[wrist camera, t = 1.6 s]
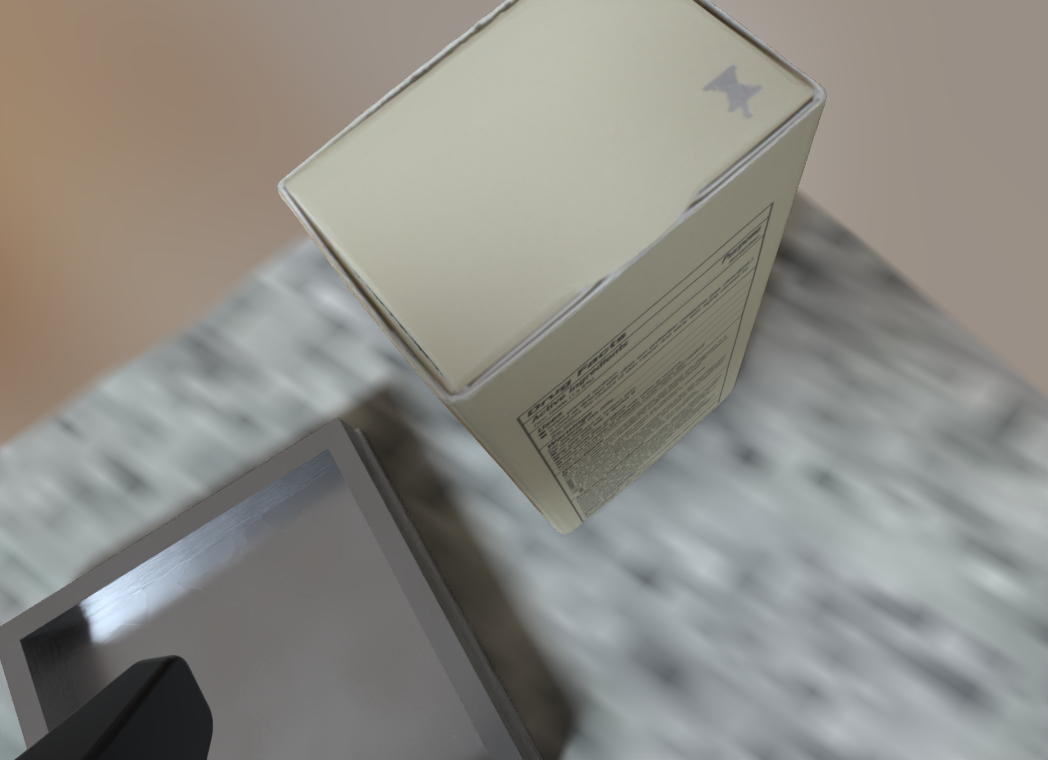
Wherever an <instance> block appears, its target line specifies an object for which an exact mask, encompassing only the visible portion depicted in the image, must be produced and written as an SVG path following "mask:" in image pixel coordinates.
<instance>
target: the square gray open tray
mask: <svg viewBox="0 0 1048 760" xmlns="http://www.w3.org/2000/svg"><path fill="white" fill-rule="evenodd" d="M167 655H177V656H180V657H182V658H183V659H184V660H186V662H187V663H188V665H189V667H190V669H191V671H192V673H193V675H194V677H195V679H196V681H197V683H198V685H199V687H200V689H201V691H202V693H203V695H204V697H205V699H206V701H207V703H208V705H209V707H210V710H211V713H212V717H213V734H212V740H211V744H210V748H209V753H208V757H207V760H543V759H542V757H541V755H540V753H539V751H538V749H537V748H536V746H535V744H534V742H533V740H532V739H531V737H530V735H529V733H528V731H527V729H526V728H525V726H524V724H523V722H522V720H521V718H520V717H519V715H518V713H517V711H516V709H515V708H514V706H513V704H512V702H511V700H510V698H509V697H508V695H507V693H506V691H505V689H504V688H503V686H502V684H501V682H500V680H499V678H498V677H497V675H496V673H495V671H494V669H493V667H492V666H491V664H490V662H489V660H488V658H487V657H486V655H485V653H484V651H483V649H482V647H481V646H480V644H479V642H478V640H477V638H476V637H475V635H474V633H473V631H472V629H471V627H470V626H469V624H468V622H467V620H466V618H465V616H464V615H463V613H462V611H461V609H460V607H459V606H458V604H457V602H456V600H455V598H454V596H453V595H452V593H451V591H450V589H449V587H448V586H447V584H446V582H445V580H444V578H443V576H442V575H441V573H440V571H439V569H438V567H437V565H436V564H435V562H434V560H433V558H432V556H431V555H430V553H429V551H428V549H427V547H426V545H425V544H424V542H423V540H422V538H421V536H420V535H419V533H418V531H417V529H416V527H415V525H414V524H413V522H412V520H411V518H410V516H409V514H408V513H407V511H406V509H405V507H404V505H403V504H402V502H401V500H400V498H399V496H398V494H397V493H396V491H395V489H394V487H393V485H392V484H391V482H390V480H389V478H388V476H387V474H386V473H385V471H384V469H383V467H382V465H381V463H380V462H379V460H378V458H377V456H376V454H375V453H374V451H373V449H372V447H371V445H370V443H369V442H368V440H367V438H366V436H365V434H364V433H363V431H362V430H361V429H360V428H358V427H357V428H356V429H354V430H353V429H352V428H351V427H350V426H348V425H347V424H346V423H345V422H343V421H342V420H341V419H340V418H336V419H335V420H333V421H332V422H330V423H328V424H327V425H325V426H324V427H322V428H320V429H319V430H317V431H315V432H314V433H312V434H311V435H309V436H307V437H306V438H304V439H303V440H301V441H299V442H298V443H296V444H294V445H293V446H291V447H290V448H288V449H286V450H285V451H283V452H282V453H280V454H278V455H277V456H275V457H273V458H272V459H270V460H269V461H267V462H265V463H264V464H262V465H261V466H259V467H257V468H256V469H254V470H252V471H251V472H249V473H248V474H246V475H244V476H243V477H241V478H240V479H238V480H236V481H235V482H233V483H231V484H230V485H228V486H227V487H225V488H223V489H222V490H220V491H219V492H217V493H215V494H214V495H212V496H210V497H209V498H207V499H206V500H204V501H202V502H201V503H199V504H198V505H196V506H194V507H193V508H191V509H189V510H188V511H186V512H185V513H183V514H181V515H180V516H178V517H177V518H175V519H173V520H172V521H170V522H168V523H167V524H165V525H164V526H162V527H160V528H159V529H157V530H156V531H154V532H152V533H151V534H149V535H147V536H146V537H144V538H143V539H141V540H139V541H138V542H136V543H135V544H133V545H131V546H130V547H128V548H126V549H125V550H123V551H122V552H120V553H118V554H117V555H115V556H114V557H112V558H110V559H109V560H107V561H105V562H104V563H102V564H101V565H99V566H97V567H96V568H94V569H93V570H91V571H89V572H88V573H86V574H84V575H83V576H81V577H80V578H78V579H76V580H75V581H73V582H72V583H70V584H68V585H67V586H65V587H63V588H62V589H60V590H59V591H57V592H55V593H54V594H52V595H51V596H49V597H47V598H46V599H44V600H42V601H41V602H39V603H38V604H36V605H34V606H33V607H31V608H30V609H28V610H26V611H25V612H23V613H21V614H20V615H18V616H17V617H15V618H13V619H12V620H10V621H9V622H7V623H5V624H4V625H2V626H0V660H1V663H2V666H3V670H4V673H5V676H6V680H7V683H8V686H9V690H10V693H11V696H12V700H13V703H14V706H15V710H16V713H17V716H18V720H19V723H20V726H21V730H22V733H23V736H24V740H25V743H26V746H27V749H29V748H30V747H31V746H32V745H34V744H35V743H36V742H37V741H39V740H40V739H41V738H42V737H43V736H45V735H46V734H47V733H48V732H50V731H51V730H52V729H53V728H55V727H56V726H57V725H58V724H60V723H61V722H62V721H63V720H65V719H66V718H67V717H68V716H70V715H71V714H72V713H73V712H74V711H76V710H77V709H78V708H79V707H81V706H82V705H83V704H84V703H86V702H87V701H88V700H89V699H91V698H92V697H93V696H94V695H96V694H97V693H98V692H99V691H101V690H102V689H103V688H104V687H106V686H107V685H108V684H109V683H110V682H112V681H113V680H114V679H115V678H117V677H118V676H119V675H120V674H122V673H123V672H124V671H125V670H127V669H128V668H129V667H130V666H132V665H133V664H134V663H136V662H138V661H140V660H143V659H147V658H154V657H160V656H167Z"/></svg>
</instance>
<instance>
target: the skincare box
mask: <svg viewBox="0 0 1048 760" xmlns="http://www.w3.org/2000/svg"><path fill="white" fill-rule="evenodd" d="M825 101H826V91H825V89H824V88H823V87H822V86H821V85H819V84H818V83H817V82H816V81H814V80H813V79H812V78H811V77H809V76H808V75H807V74H805V73H804V72H802V71H801V70H799V69H798V68H796V67H795V66H793V65H792V64H791V63H789V62H788V61H787V60H786V59H785V58H783V57H782V56H781V55H780V54H779V53H778V52H776V51H775V50H774V49H773V48H772V47H770V46H769V45H767V44H766V43H764V42H763V41H762V40H760V39H759V38H758V37H756V36H755V35H754V34H753V33H752V32H750V31H749V30H748V29H747V28H745V27H744V26H743V25H742V24H740V23H739V22H737V21H736V20H735V19H733V18H732V17H731V16H729V15H728V14H726V13H725V12H724V11H722V10H721V9H720V8H718V7H717V6H716V5H715V4H713V3H712V2H711V1H709V0H506V1H504V2H502V3H501V4H500V5H499V6H498V7H496V8H495V9H494V10H493V11H492V12H490V13H489V14H488V15H486V16H485V17H484V18H482V19H481V20H479V21H478V22H477V23H475V24H474V25H473V26H472V27H471V28H470V29H468V30H467V31H466V32H465V33H463V34H462V35H461V36H459V37H458V38H457V39H455V40H454V41H453V42H451V43H450V44H449V45H447V46H446V47H445V48H443V49H442V50H441V51H440V52H439V53H437V54H436V55H435V56H434V57H433V58H431V59H430V60H429V61H427V62H426V63H425V64H424V65H422V66H421V67H420V68H418V69H417V70H416V71H415V72H413V73H412V74H411V75H410V76H408V77H407V78H406V79H405V80H403V81H402V82H401V83H399V84H398V85H397V86H396V87H395V88H394V89H392V90H390V91H389V92H388V93H387V94H386V95H385V96H384V97H383V98H381V99H380V100H378V101H377V102H376V103H374V104H373V105H372V106H371V107H369V108H368V109H367V110H366V111H364V112H363V113H362V114H361V115H359V116H358V117H357V118H356V119H355V120H354V121H352V122H351V123H350V124H349V125H348V126H347V127H345V128H344V129H343V130H342V131H341V132H339V133H338V134H337V135H335V136H334V137H332V138H331V139H330V140H329V141H328V142H327V143H326V144H324V145H323V146H322V147H321V148H320V149H319V150H318V151H317V152H315V153H314V154H313V155H311V156H310V157H309V158H308V159H307V160H305V161H304V162H303V163H302V164H300V165H299V166H298V167H296V168H295V169H294V170H293V171H291V172H290V173H289V174H288V175H286V176H285V177H284V178H283V179H281V181H280V182H279V184H278V191H279V194H280V196H281V197H282V199H283V200H284V201H285V203H286V204H287V205H288V206H289V208H290V209H291V210H292V212H293V213H294V214H295V216H296V217H297V218H298V220H299V221H300V223H301V224H302V225H303V227H304V228H305V230H306V231H307V232H308V234H309V235H310V236H311V238H312V239H313V241H314V242H315V243H316V245H317V246H318V247H319V249H320V250H321V252H322V253H323V254H324V256H325V257H326V258H327V260H328V261H329V262H330V264H331V265H332V266H333V268H334V269H335V270H336V272H337V273H338V274H339V276H340V277H341V278H342V280H343V281H344V282H345V283H346V285H347V286H348V287H349V289H350V290H351V291H352V293H353V294H354V295H355V296H356V298H357V299H358V300H359V302H360V303H361V304H362V305H363V307H364V308H365V309H366V311H367V312H368V313H369V314H370V316H371V317H372V318H373V319H374V321H375V322H376V323H377V324H378V326H379V327H380V328H381V329H382V330H383V332H384V333H385V334H386V335H387V337H388V338H389V339H390V340H391V342H392V343H393V344H394V345H395V346H396V348H397V349H398V350H399V351H400V353H401V354H402V355H403V356H404V357H405V359H406V360H407V361H408V362H409V364H410V365H411V366H412V367H413V368H414V370H415V371H416V372H417V373H418V374H419V376H420V377H421V378H422V379H423V381H424V382H425V383H426V384H427V385H428V387H429V388H430V389H431V390H432V391H433V393H434V394H435V395H436V396H437V397H438V399H439V400H440V401H441V402H442V403H443V404H444V405H445V406H446V407H447V408H448V409H449V410H450V411H451V412H452V413H453V415H454V416H455V417H456V418H457V419H458V420H459V421H460V422H461V423H462V424H463V425H464V427H465V428H466V429H467V430H468V431H469V432H470V433H471V434H472V435H473V437H474V438H475V439H476V440H477V441H478V442H479V443H480V445H481V446H482V447H483V448H484V449H485V450H486V451H487V452H488V454H489V455H490V456H491V457H492V458H493V459H494V460H495V461H496V462H497V464H498V465H499V466H500V467H501V468H502V469H503V470H504V471H505V472H506V474H507V475H508V476H509V477H510V478H511V479H512V481H513V482H514V483H515V484H516V485H517V486H518V488H519V489H520V490H521V491H522V492H523V493H524V494H525V496H526V497H527V498H528V499H529V500H530V502H531V503H532V504H533V505H534V506H535V507H536V508H537V510H538V511H539V512H540V513H541V514H542V515H543V516H544V517H545V518H546V519H547V520H548V521H549V522H550V524H551V525H552V526H553V527H554V528H555V529H556V530H557V531H558V532H559V533H561V534H569V533H571V532H572V531H574V530H575V529H576V528H577V527H579V526H580V525H581V524H582V523H584V522H585V521H586V520H587V519H589V518H590V517H591V516H592V515H594V514H595V513H596V512H597V511H599V510H600V509H601V508H602V507H603V506H605V505H606V504H607V503H608V502H609V501H611V500H612V499H613V498H614V497H615V496H616V495H618V494H619V493H620V492H621V491H623V490H624V489H625V488H626V487H627V486H629V485H630V484H631V483H632V482H633V481H634V480H636V479H637V478H638V477H639V476H640V475H641V474H643V473H644V472H645V471H646V470H647V469H648V468H649V467H650V466H652V465H653V464H654V463H655V462H656V461H657V460H658V459H660V458H661V457H662V456H663V455H664V454H665V453H666V452H668V451H669V450H670V449H671V448H672V447H673V446H674V445H675V444H677V443H678V442H679V441H680V440H681V439H682V438H683V437H684V436H685V435H687V434H688V433H689V432H690V431H691V430H692V429H693V428H694V427H695V426H696V425H698V424H699V423H700V422H701V421H702V420H703V419H704V418H705V417H706V416H707V415H708V414H709V413H710V412H711V411H713V410H714V409H715V408H716V407H717V406H718V405H719V404H720V403H721V402H722V401H723V400H724V399H725V398H726V397H728V396H729V394H730V393H731V392H732V391H733V388H734V385H735V382H736V379H737V376H738V373H739V370H740V366H741V363H742V360H743V357H744V353H745V350H746V347H747V344H748V341H749V338H750V334H751V331H752V328H753V326H754V323H755V320H756V316H757V313H758V310H759V307H760V303H761V300H762V297H763V294H764V291H765V288H766V284H767V281H768V278H769V275H770V272H771V269H772V266H773V263H774V260H775V257H776V254H777V251H778V248H779V245H780V243H781V239H782V236H783V233H784V229H785V226H786V223H787V220H788V217H789V214H790V211H791V208H792V205H793V201H794V198H795V195H796V192H797V188H798V185H799V182H800V179H801V176H802V173H803V170H804V167H805V164H806V161H807V157H808V154H809V151H810V147H811V144H812V141H813V138H814V135H815V132H816V129H817V126H818V123H819V120H820V117H821V113H822V111H823V108H824V105H825Z"/></svg>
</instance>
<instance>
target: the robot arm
mask: <svg viewBox="0 0 1048 760" xmlns="http://www.w3.org/2000/svg"><path fill="white" fill-rule="evenodd" d="M212 734H213V717H212V713H211V710H210V707H209V705H208V703H207V701H206V699H205V697H204V695H203V693H202V691H201V689H200V687H199V685H198V683H197V681H196V679H195V677H194V675H193V673H192V671H191V669H190V667H189V665H188V663H187V662H186V660H184V659H183V658H182V657H180V656H177V655H167V656H160V657H154V658H147V659H143V660H140V661H138V662H136V663H134V664H133V665H132V666H130V667H129V668H128V669H127V670H125V671H124V672H123V673H122V674H120V675H119V676H118V677H117V678H115V679H114V680H113V681H112V682H110V683H109V684H108V685H107V686H106V687H104V688H103V689H102V690H101V691H99V692H98V693H97V694H96V695H94V696H93V697H92V698H91V699H89V700H88V701H87V702H86V703H84V704H83V705H82V706H81V707H79V708H78V709H77V710H76V711H74V712H73V713H72V714H71V715H70V716H68V717H67V718H66V719H65V720H63V721H62V722H61V723H60V724H58V725H57V726H56V727H55V728H53V729H52V730H51V731H50V732H48V733H47V734H46V735H45V736H43V737H42V738H41V739H40V740H39V741H37V742H36V743H35V744H34V745H32V746H31V747H30V748H29V749H27V750H26V751H25V752H24V753H22V754H21V755H20V756H19V757H17V758H16V759H15V760H207V757H208V753H209V748H210V744H211V740H212Z"/></svg>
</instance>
